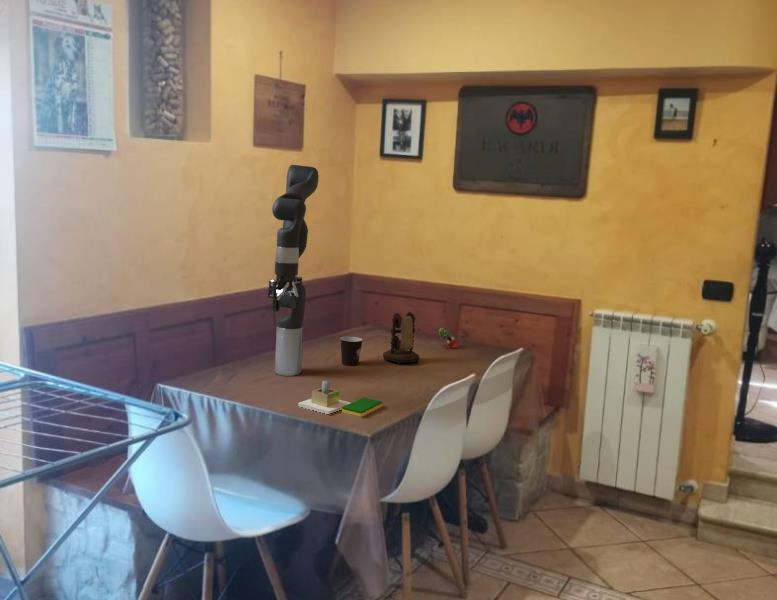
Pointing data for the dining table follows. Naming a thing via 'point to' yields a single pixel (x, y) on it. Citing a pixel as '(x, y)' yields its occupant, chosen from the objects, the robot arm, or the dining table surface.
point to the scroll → (402, 340)
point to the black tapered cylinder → (350, 350)
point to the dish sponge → (362, 406)
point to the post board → (322, 409)
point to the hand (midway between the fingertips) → (284, 309)
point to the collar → (325, 397)
